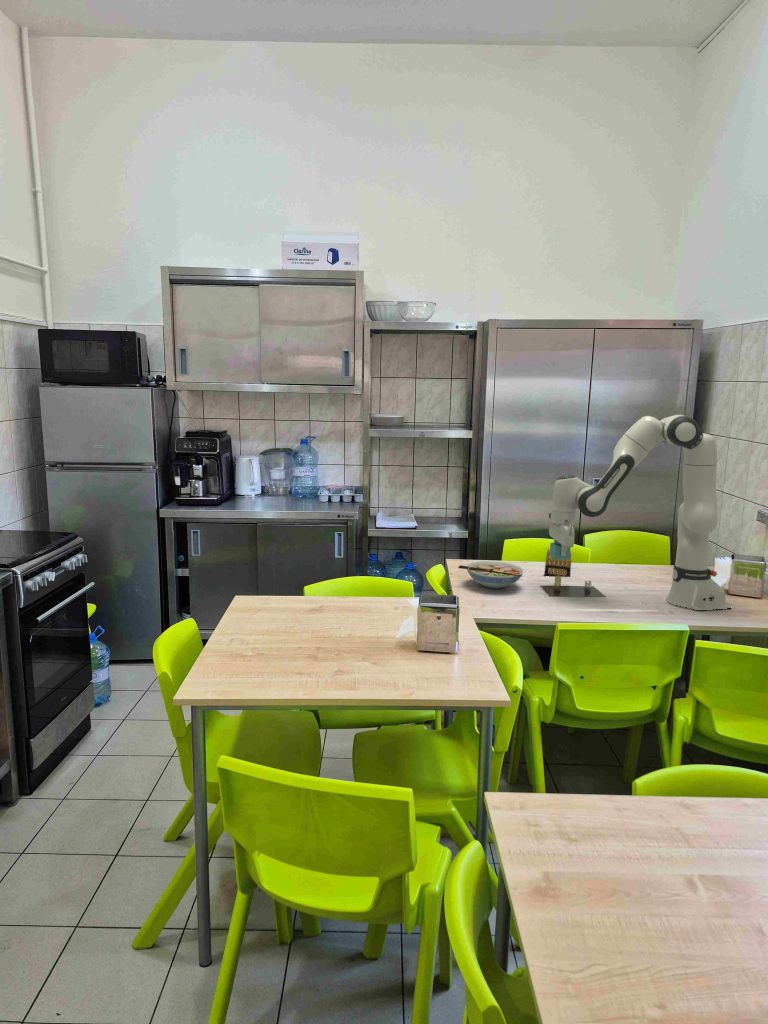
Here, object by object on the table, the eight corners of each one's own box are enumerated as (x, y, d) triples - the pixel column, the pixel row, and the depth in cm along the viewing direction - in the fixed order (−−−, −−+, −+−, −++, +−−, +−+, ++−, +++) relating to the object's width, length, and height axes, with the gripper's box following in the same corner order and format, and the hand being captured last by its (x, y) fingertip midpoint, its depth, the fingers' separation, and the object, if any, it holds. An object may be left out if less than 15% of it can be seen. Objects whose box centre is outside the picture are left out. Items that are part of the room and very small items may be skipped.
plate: (593, 588, 271) (595, 571, 270) (606, 599, 257) (608, 581, 256) (539, 587, 270) (540, 570, 268) (549, 599, 256) (550, 580, 255)
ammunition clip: (570, 578, 285) (572, 550, 283) (570, 579, 283) (572, 551, 281) (544, 575, 288) (546, 547, 286) (543, 576, 286) (546, 548, 284)
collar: (564, 555, 264) (565, 543, 263) (569, 559, 258) (570, 546, 257) (549, 555, 263) (550, 542, 262) (553, 559, 257) (555, 546, 256)
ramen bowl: (531, 583, 275) (532, 564, 274) (517, 599, 255) (519, 578, 253) (472, 574, 286) (473, 555, 284) (454, 588, 265) (455, 568, 264)
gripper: (580, 523, 247) (576, 560, 250) (563, 512, 267) (559, 547, 270) (563, 523, 247) (560, 560, 250) (547, 512, 267) (544, 546, 270)
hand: (559, 553), depth 260 cm, fingers closed on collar, 6 cm apart
